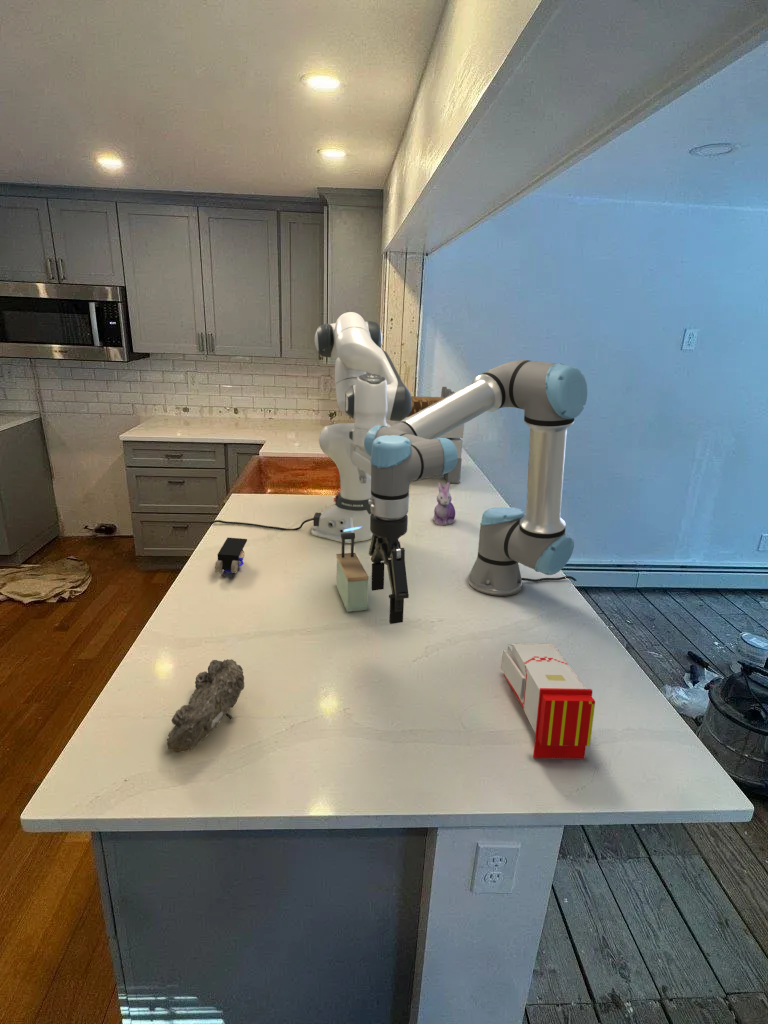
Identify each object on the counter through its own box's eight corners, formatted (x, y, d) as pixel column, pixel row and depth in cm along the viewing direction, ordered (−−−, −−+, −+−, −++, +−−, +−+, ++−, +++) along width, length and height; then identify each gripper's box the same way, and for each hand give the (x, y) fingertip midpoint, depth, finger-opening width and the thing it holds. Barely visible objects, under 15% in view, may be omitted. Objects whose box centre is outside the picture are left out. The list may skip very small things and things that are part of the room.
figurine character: (238, 584, 162) (249, 557, 175) (236, 562, 158) (247, 536, 172) (215, 584, 161) (227, 556, 175) (212, 561, 158) (225, 535, 171)
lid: (336, 557, 158) (336, 530, 155) (355, 555, 160) (355, 529, 157) (347, 581, 144) (348, 552, 142) (368, 580, 146) (369, 551, 143)
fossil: (192, 660, 117) (244, 628, 112) (224, 691, 120) (276, 661, 115) (142, 746, 98) (202, 712, 93) (182, 779, 101) (242, 748, 96)
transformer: (382, 463, 289) (386, 382, 275) (445, 464, 293) (451, 384, 279) (390, 482, 257) (394, 392, 243) (460, 483, 261) (468, 394, 247)
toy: (549, 626, 126) (605, 697, 97) (544, 681, 129) (596, 766, 100) (495, 625, 126) (534, 696, 96) (491, 680, 128) (528, 765, 99)
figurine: (440, 527, 207) (443, 488, 202) (426, 518, 215) (428, 480, 210) (462, 524, 211) (465, 485, 206) (446, 515, 220) (450, 478, 215)
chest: (336, 586, 161) (336, 558, 158) (354, 584, 162) (355, 557, 159) (347, 612, 147) (347, 581, 144) (367, 609, 149) (368, 580, 146)
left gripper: (397, 445, 143) (394, 497, 147) (367, 430, 160) (366, 477, 165) (373, 446, 140) (372, 499, 145) (346, 430, 158) (345, 478, 162)
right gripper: (355, 493, 123) (355, 579, 131) (389, 541, 101) (386, 641, 109) (388, 490, 125) (386, 575, 133) (428, 537, 103) (423, 635, 111)
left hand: (368, 487), depth 155 cm, fingers open, 8 cm apart
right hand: (386, 605), depth 121 cm, fingers open, 13 cm apart
